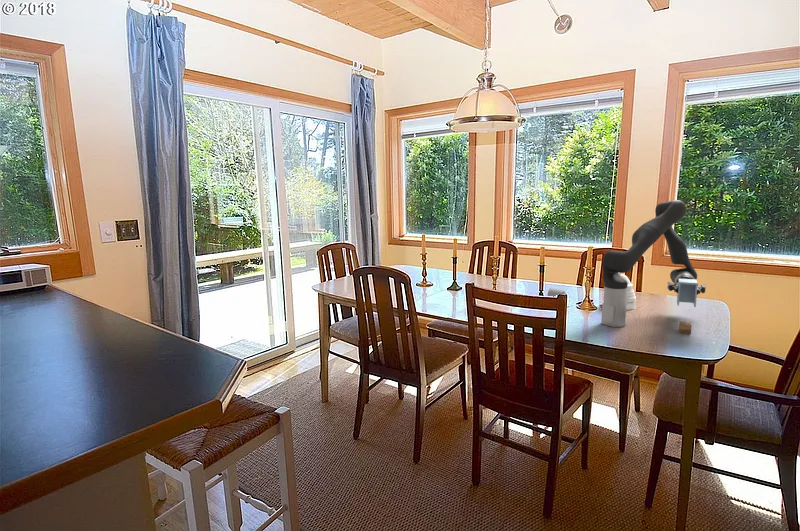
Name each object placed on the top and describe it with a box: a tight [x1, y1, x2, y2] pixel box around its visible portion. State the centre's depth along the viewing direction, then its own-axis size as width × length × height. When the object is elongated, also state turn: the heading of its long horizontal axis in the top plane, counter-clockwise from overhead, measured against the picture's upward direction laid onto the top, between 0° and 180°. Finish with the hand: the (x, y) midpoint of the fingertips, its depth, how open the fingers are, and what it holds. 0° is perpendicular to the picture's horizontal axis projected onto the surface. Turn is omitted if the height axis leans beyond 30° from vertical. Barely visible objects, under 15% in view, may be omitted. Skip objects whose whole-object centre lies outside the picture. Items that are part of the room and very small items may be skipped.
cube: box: [678, 320, 692, 335], centre depth 178 cm, size 4×4×4 cm
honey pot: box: [618, 272, 637, 311], centre depth 217 cm, size 13×13×18 cm
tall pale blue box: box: [676, 279, 699, 308], centre depth 176 cm, size 7×6×10 cm
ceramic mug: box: [547, 288, 567, 297], centre depth 231 cm, size 11×8×8 cm
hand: (687, 291), depth 174 cm, fingers closed on tall pale blue box, 6 cm apart
